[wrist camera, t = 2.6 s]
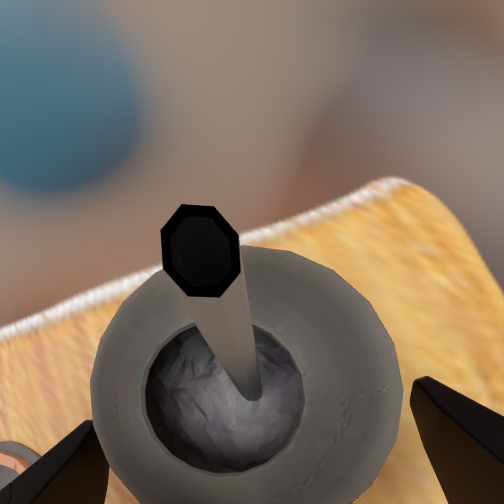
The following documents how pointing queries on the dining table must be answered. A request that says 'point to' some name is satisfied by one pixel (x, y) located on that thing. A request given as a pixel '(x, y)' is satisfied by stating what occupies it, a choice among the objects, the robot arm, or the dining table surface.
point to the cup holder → (14, 461)
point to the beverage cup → (244, 377)
